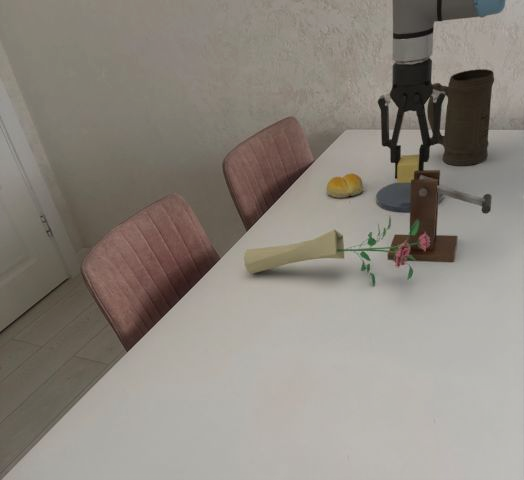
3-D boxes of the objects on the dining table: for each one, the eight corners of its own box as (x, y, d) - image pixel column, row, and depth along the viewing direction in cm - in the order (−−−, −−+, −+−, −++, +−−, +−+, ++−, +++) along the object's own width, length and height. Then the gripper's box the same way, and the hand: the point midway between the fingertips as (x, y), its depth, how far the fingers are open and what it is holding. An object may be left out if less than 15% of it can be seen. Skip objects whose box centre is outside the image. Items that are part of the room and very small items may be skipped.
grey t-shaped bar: (488, 204, 90) (494, 192, 88) (487, 217, 86) (493, 204, 84) (417, 183, 92) (421, 171, 90) (413, 195, 88) (418, 182, 87)
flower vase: (273, 293, 108) (442, 267, 91) (247, 311, 98) (432, 286, 81) (259, 240, 104) (432, 202, 87) (231, 252, 94) (421, 212, 77)
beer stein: (492, 150, 129) (497, 64, 117) (488, 165, 122) (492, 76, 110) (431, 155, 136) (429, 74, 124) (423, 170, 129) (420, 86, 117)
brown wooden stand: (457, 241, 98) (463, 166, 88) (453, 262, 92) (460, 184, 83) (394, 239, 102) (394, 168, 93) (387, 259, 97) (387, 185, 87)
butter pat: (401, 172, 116) (401, 155, 113) (421, 172, 114) (421, 154, 112) (397, 182, 112) (397, 165, 109) (417, 182, 110) (418, 164, 107)
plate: (446, 184, 118) (446, 179, 117) (439, 212, 108) (440, 207, 107) (382, 185, 124) (382, 180, 123) (370, 212, 113) (370, 207, 113)
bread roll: (324, 189, 128) (323, 173, 125) (359, 183, 127) (359, 167, 125) (329, 201, 121) (328, 185, 119) (366, 195, 121) (365, 179, 118)
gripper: (461, 50, 97) (451, 168, 112) (371, 60, 104) (373, 170, 118) (457, 59, 92) (448, 182, 107) (364, 69, 99) (367, 183, 113)
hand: (409, 176), depth 113 cm, fingers closed on butter pat, 4 cm apart
